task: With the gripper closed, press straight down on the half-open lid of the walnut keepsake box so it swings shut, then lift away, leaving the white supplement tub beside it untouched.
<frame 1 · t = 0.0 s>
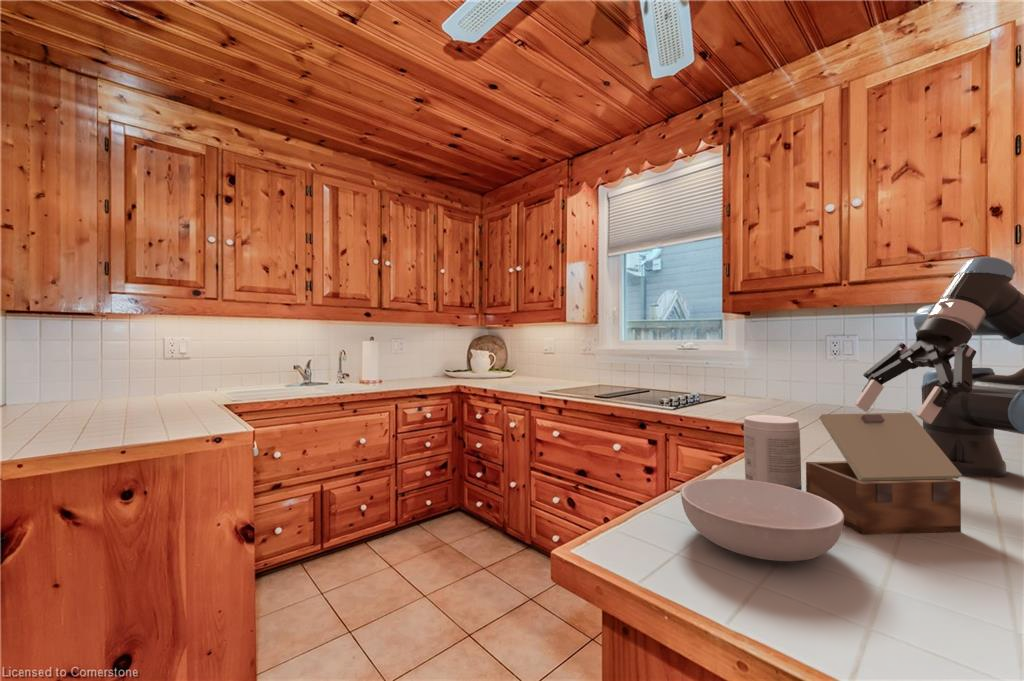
hand: (889, 413, 87), 15 cm above the counter, tool tilted 35°, fingers open, 13 cm apart
supplement tub: (772, 494, 86), on the counter
serving bowl: (756, 546, 65), on the counter
lid: (887, 443, 72), point 13 cm above the counter, hinge at 45.0°
keepsake box: (877, 517, 74), on the counter
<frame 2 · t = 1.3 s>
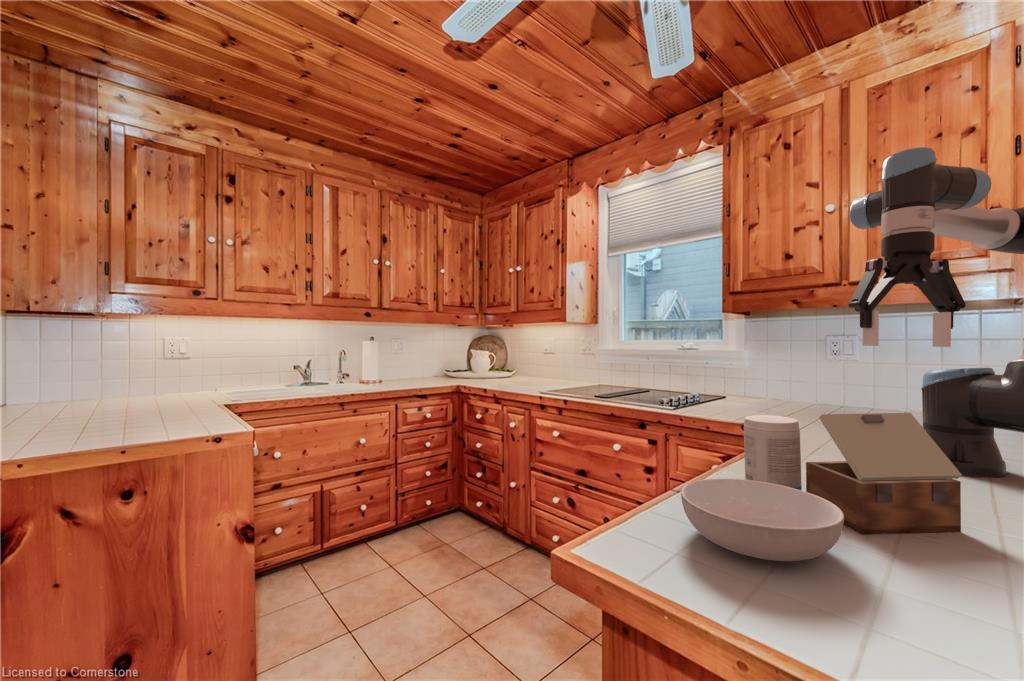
hand: (905, 346, 82), 29 cm above the counter, tool pointing down, fingers open, 13 cm apart
nothing on the counter moved.
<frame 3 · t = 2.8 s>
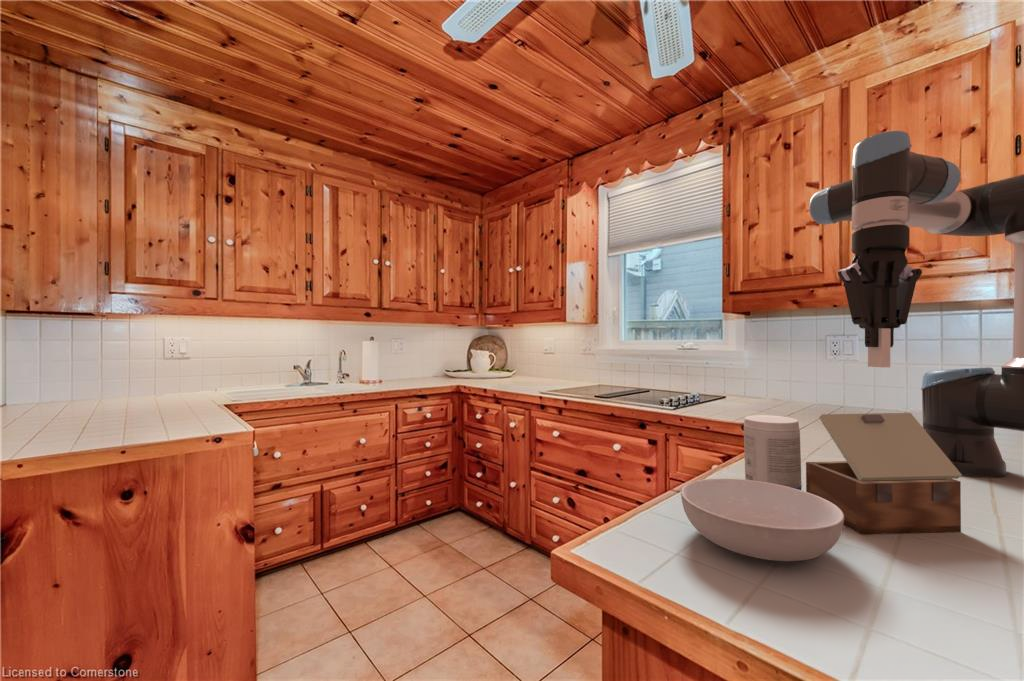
hand: (878, 366, 74), 26 cm above the counter, tool pointing down, fingers closed
nothing on the counter moved.
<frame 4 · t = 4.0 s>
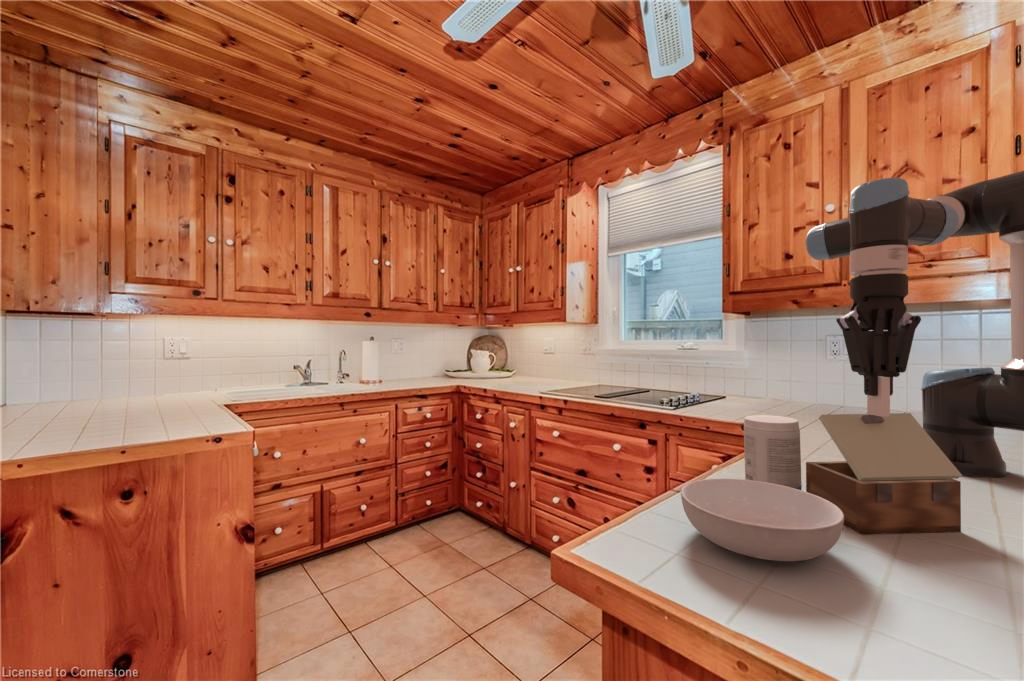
hand: (878, 415, 73), 17 cm above the counter, tool pointing down, fingers closed
lid: (887, 443, 72), point 13 cm above the counter, hinge at 44.6°, touching gripper
everything else where it was.
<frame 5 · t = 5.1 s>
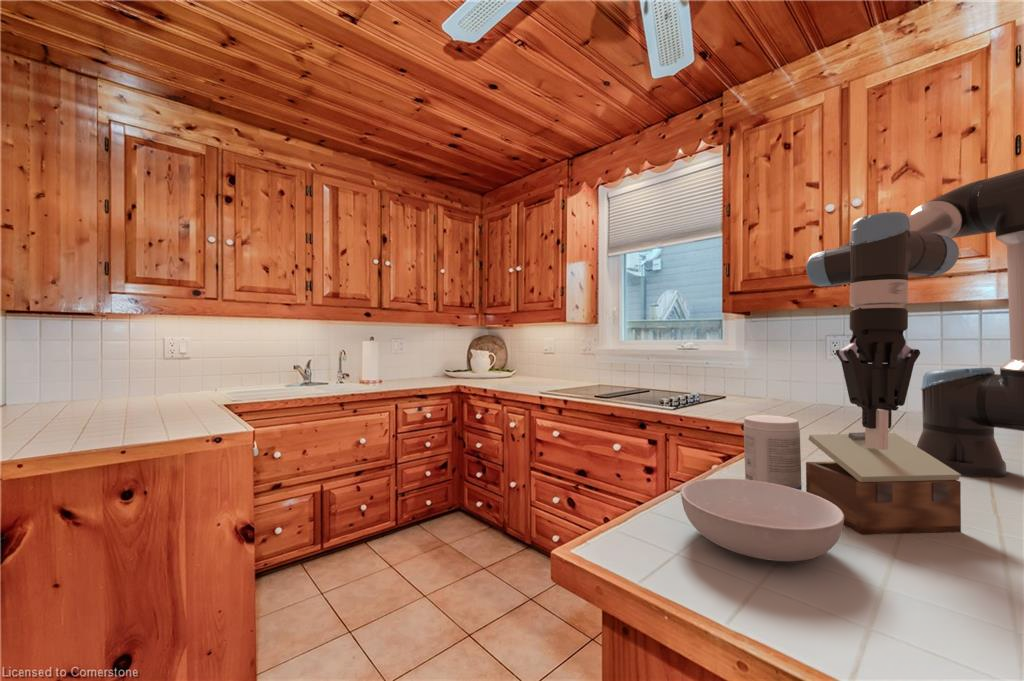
hand: (876, 447, 73), 12 cm above the counter, tool pointing down, fingers closed
lid: (879, 453, 73), point 11 cm above the counter, hinge at 20.2°, touching gripper
everything else where it was.
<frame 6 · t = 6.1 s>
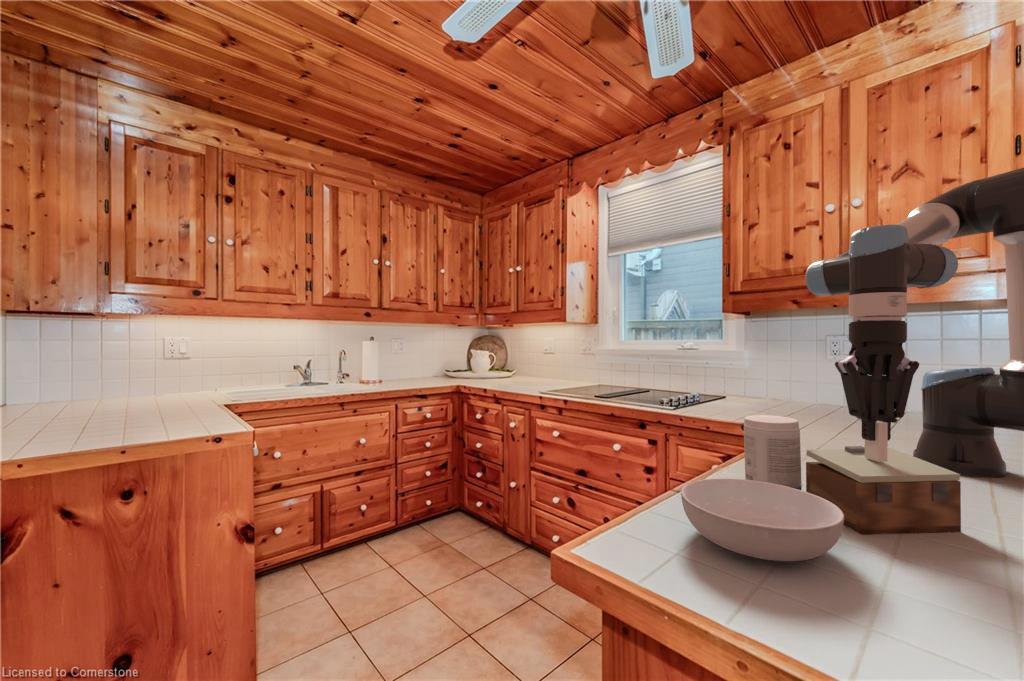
hand: (875, 459, 73), 10 cm above the counter, tool pointing down, fingers closed
lid: (877, 461, 74), point 9 cm above the counter, hinge at 5.7°, touching gripper
everything else where it was.
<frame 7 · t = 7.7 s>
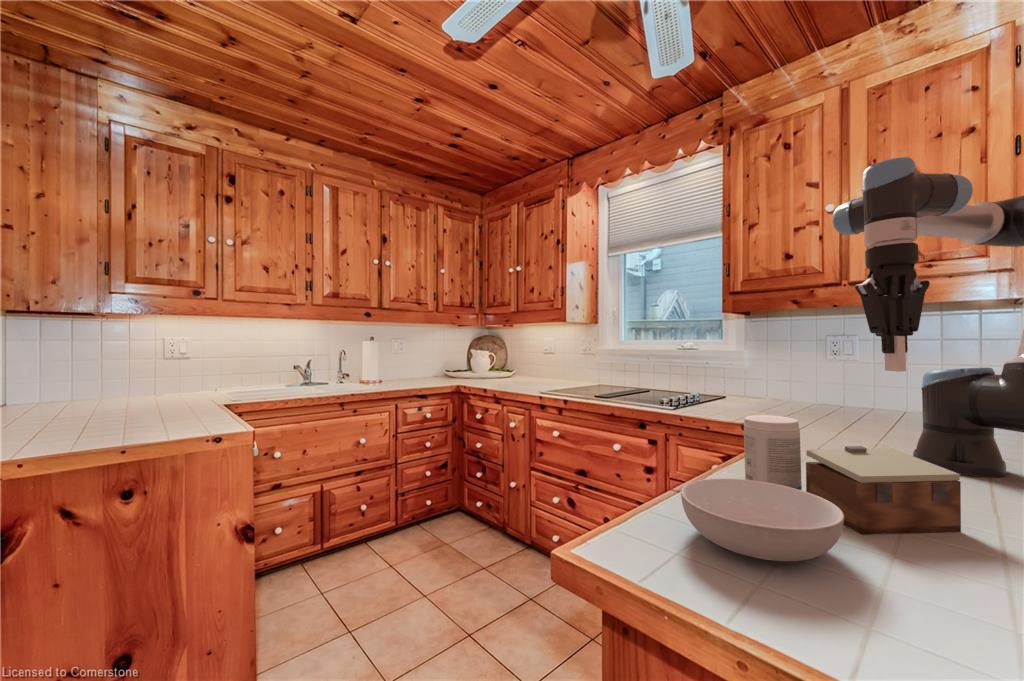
hand: (895, 370, 82), 24 cm above the counter, tool pointing down, fingers closed
lid: (877, 461, 74), point 9 cm above the counter, hinge at 5.7°
everything else where it was.
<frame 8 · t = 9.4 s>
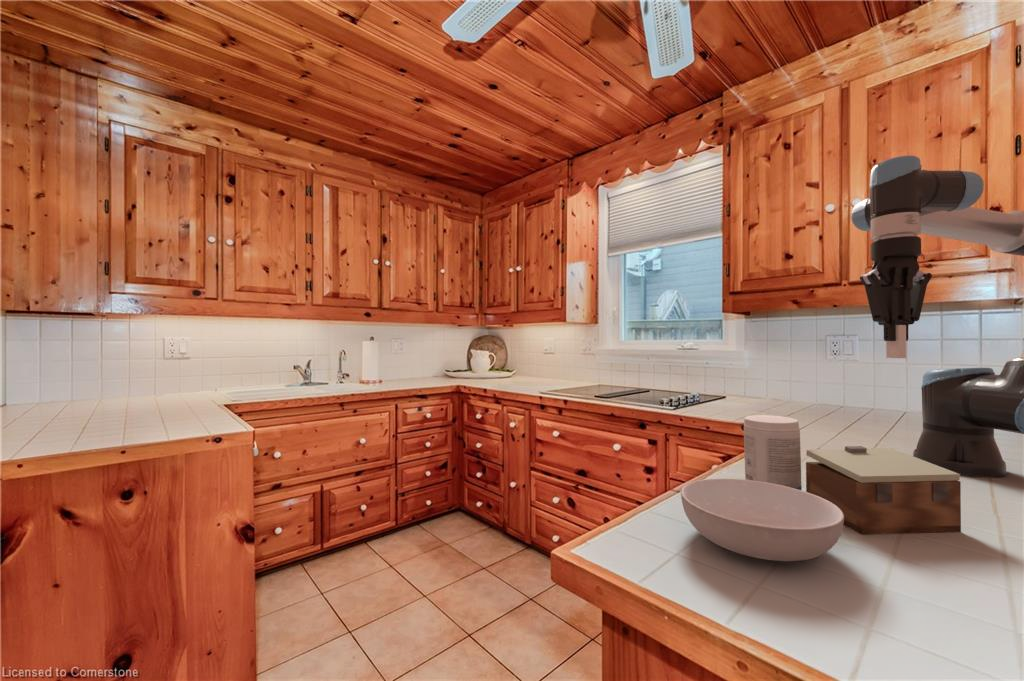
hand: (896, 357, 86), 26 cm above the counter, tool pointing down, fingers closed
nothing on the counter moved.
at the end: lid at +6° (first picture: +45°); supplement tub moved 0.2 cm from its start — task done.
